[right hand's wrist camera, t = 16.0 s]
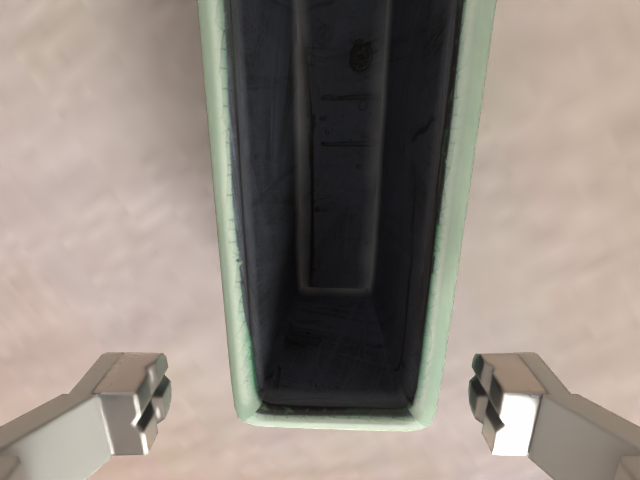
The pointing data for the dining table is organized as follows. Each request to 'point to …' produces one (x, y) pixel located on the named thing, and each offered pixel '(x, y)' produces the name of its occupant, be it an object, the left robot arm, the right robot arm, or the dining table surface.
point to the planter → (341, 199)
